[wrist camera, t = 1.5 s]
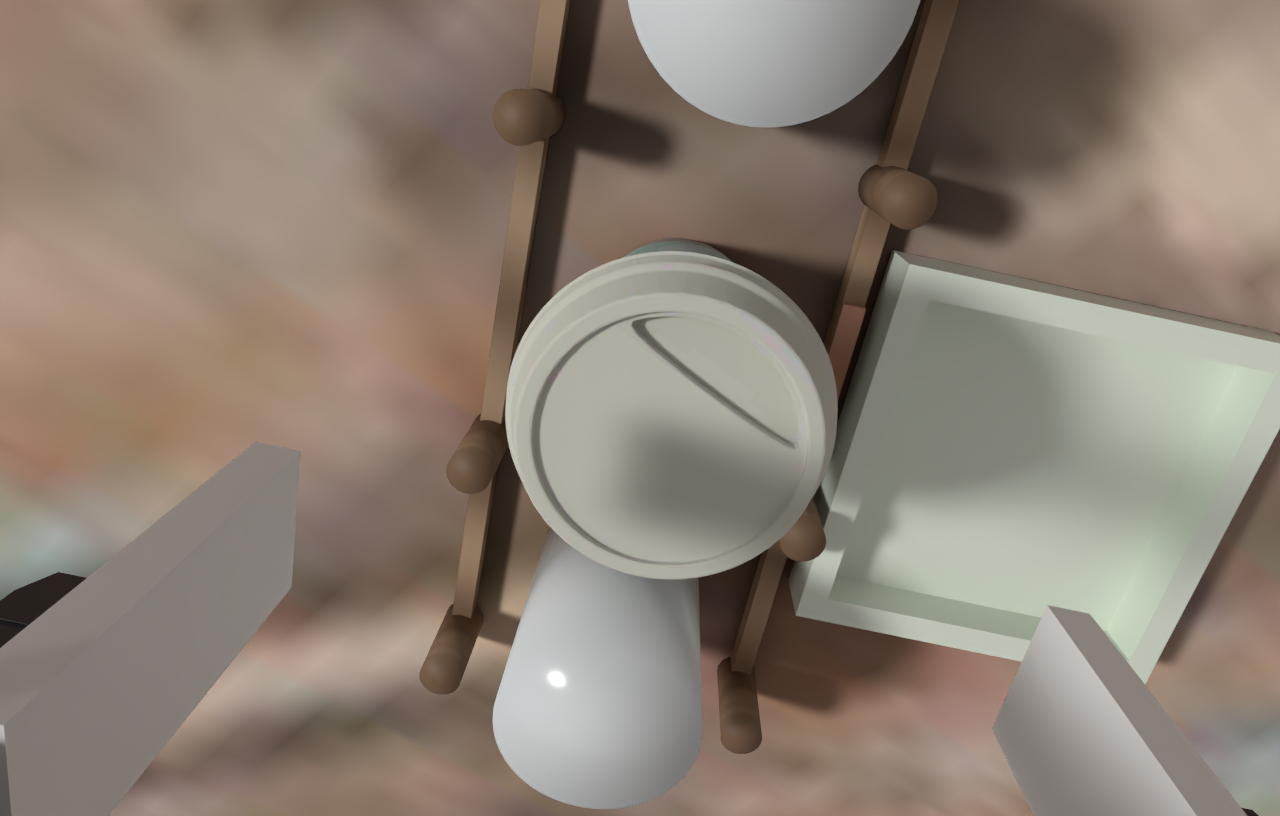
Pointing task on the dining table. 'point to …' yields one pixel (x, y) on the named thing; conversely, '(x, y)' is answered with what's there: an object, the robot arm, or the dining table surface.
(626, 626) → the white rounded capsule
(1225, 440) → the tray
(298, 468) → the robot arm
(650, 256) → the coffee cup
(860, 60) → the white rounded block
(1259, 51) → the dining table surface
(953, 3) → the rack
